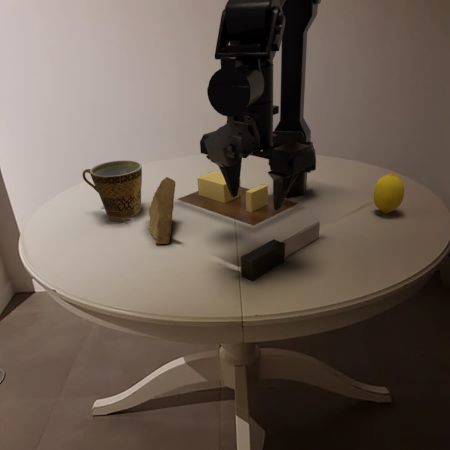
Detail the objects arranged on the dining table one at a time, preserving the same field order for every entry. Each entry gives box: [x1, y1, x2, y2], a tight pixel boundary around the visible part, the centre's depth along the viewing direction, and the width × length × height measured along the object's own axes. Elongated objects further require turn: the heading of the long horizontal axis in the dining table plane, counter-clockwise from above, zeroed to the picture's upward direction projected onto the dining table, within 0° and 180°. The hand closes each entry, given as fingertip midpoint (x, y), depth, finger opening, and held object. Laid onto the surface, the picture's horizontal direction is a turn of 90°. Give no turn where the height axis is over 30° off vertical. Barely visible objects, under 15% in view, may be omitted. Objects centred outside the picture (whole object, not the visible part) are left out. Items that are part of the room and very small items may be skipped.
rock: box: [147, 176, 176, 245], centre depth 87 cm, size 11×9×10 cm
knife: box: [240, 221, 321, 282], centre depth 78 cm, size 19×2×4 cm, turn 136°
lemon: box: [372, 172, 405, 215], centre depth 89 cm, size 6×6×8 cm
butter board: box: [176, 186, 299, 227], centre depth 98 cm, size 14×22×1 cm, turn 46°
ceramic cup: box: [82, 160, 143, 223], centre depth 94 cm, size 13×10×10 cm
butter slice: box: [246, 184, 269, 212], centre depth 93 cm, size 5×2×4 cm, turn 136°
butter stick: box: [196, 171, 242, 203], centre depth 100 cm, size 5×8×4 cm, turn 46°
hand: (255, 202), depth 76 cm, fingers open, 9 cm apart
